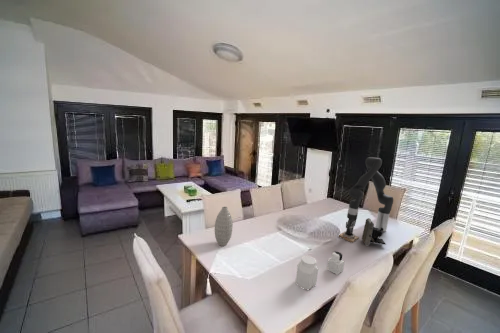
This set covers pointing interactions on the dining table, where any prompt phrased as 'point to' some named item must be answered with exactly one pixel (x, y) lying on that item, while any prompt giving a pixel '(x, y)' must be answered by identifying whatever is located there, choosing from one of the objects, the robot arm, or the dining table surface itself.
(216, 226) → the vase
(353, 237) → the mount
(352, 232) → the lens
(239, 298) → the dining table surface
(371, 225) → the vintage camera
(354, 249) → the dining table surface
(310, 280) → the jar
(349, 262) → the dining table surface
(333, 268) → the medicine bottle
